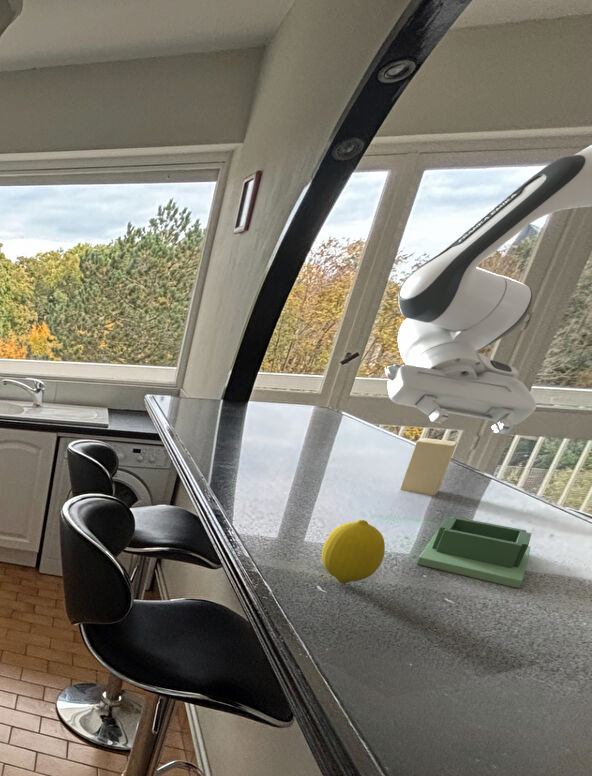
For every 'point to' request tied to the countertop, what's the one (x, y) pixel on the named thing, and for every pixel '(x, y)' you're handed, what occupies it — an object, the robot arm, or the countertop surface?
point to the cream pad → (428, 465)
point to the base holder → (479, 551)
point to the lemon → (353, 551)
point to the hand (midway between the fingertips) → (472, 425)
